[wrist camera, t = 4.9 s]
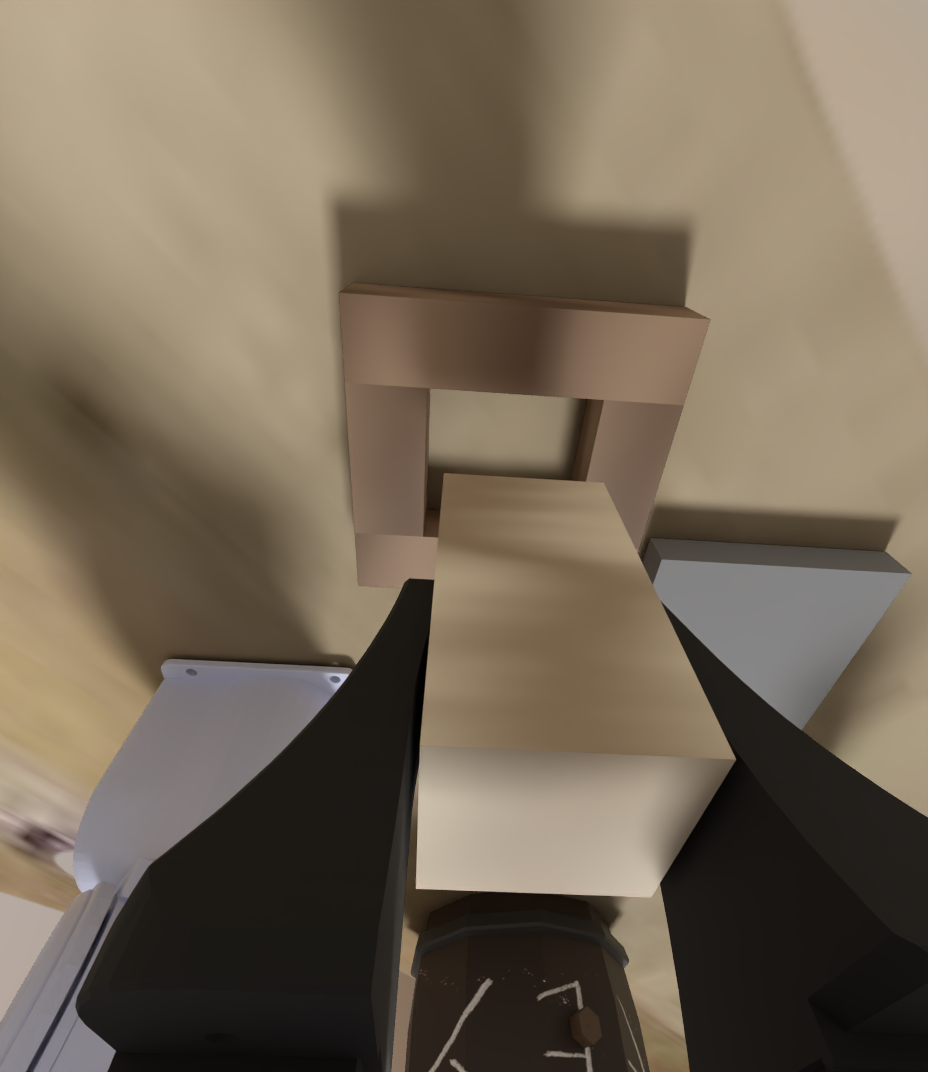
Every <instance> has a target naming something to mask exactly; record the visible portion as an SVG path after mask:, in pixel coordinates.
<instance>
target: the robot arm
mask: <svg viewBox="0 0 928 1072" xmlns="http://www.w3.org/2000/svg"><path fill="white" fill-rule="evenodd" d="M433 591H434V580H431V579H413V578H409V579H408V580H407V581H405V582H404V584H403V587H402V590H401V592H400V594H399V596H398V598H397V600H396V602H395V604H394V606H393V608H392V610H391V612H390V614H389V615H388V617H387V619H386V621H385V622H384V624H383V626H382V627H381V629H380V630H379V632H378V633H377V635H376V637H375V638H374V640H373V641H372V643H371V645H370V646H369V648H368V649H367V651H366V652H365V653H364V655H363V656H362V658H361V659H360V660H359V662H358V663H357V664H356V666H355V667H354V669H353V670H352V669H350V668H343V667H323V666H304V665H284V664H264V663H244V662H224V661H204V660H184V659H168V660H166V661H165V662H164V663H163V665H162V666H161V672H162V674H163V677H164V680H163V682H162V683H161V685H160V686H159V688H158V690H157V691H156V693H155V694H154V696H153V697H152V699H151V701H150V702H149V704H148V705H147V707H146V708H145V710H144V712H143V713H142V715H141V716H140V718H139V720H138V721H137V723H136V724H135V726H134V727H133V729H132V731H131V732H130V734H129V735H128V737H127V738H126V740H125V742H124V743H123V745H122V746H121V748H120V750H119V751H118V753H117V754H116V756H115V757H114V759H113V761H112V762H111V764H110V765H109V767H108V769H107V770H106V772H105V773H104V775H103V776H102V778H101V780H100V781H99V783H98V785H97V786H96V788H95V790H94V792H93V794H92V796H91V798H90V800H89V802H88V804H87V807H86V810H85V812H84V815H83V817H82V820H81V823H80V826H79V830H78V833H77V837H76V842H75V847H74V855H73V866H74V875H75V880H76V883H77V886H78V887H79V889H80V891H81V892H82V893H81V894H80V895H78V896H76V897H75V898H74V899H73V900H72V902H71V903H70V905H69V906H68V908H67V909H66V911H65V912H64V914H63V916H62V917H61V919H60V921H59V922H58V924H57V926H56V927H55V929H54V931H53V932H52V934H51V936H50V937H49V939H48V941H47V942H46V944H45V946H44V948H43V949H42V951H41V953H40V954H39V956H38V958H37V959H36V961H35V963H34V965H33V966H32V968H31V970H30V971H29V973H28V975H27V977H26V978H25V980H24V982H23V984H22V985H21V987H20V989H19V991H18V993H17V994H16V996H15V998H14V999H13V1001H12V1003H11V1005H10V1006H9V1008H8V1010H7V1012H6V1014H5V1015H4V1017H3V1019H2V1020H1V1022H0V1072H391V1068H392V1055H393V1041H394V1028H395V1015H396V1003H397V990H398V977H399V964H400V952H401V939H402V926H403V914H404V902H405V890H406V877H407V865H408V853H409V841H410V829H411V817H412V807H413V800H414V792H415V785H416V779H417V773H418V768H419V758H420V738H421V727H422V715H423V704H424V693H425V681H426V670H427V659H428V647H429V636H430V625H431V613H432V602H433ZM661 603H662V602H661ZM662 605H663V607H664V610H665V612H666V614H667V616H668V618H669V620H670V622H671V624H672V626H673V628H674V630H675V633H676V635H677V637H678V639H679V641H680V643H681V645H682V647H683V649H684V651H685V653H686V656H687V658H688V660H689V662H690V664H691V666H692V668H693V670H694V672H695V674H696V676H697V679H698V681H699V683H700V685H701V687H702V689H703V691H704V693H705V695H706V697H707V699H708V702H709V704H710V706H711V708H712V710H713V712H714V714H715V716H716V718H717V720H718V722H719V725H720V727H721V729H722V731H723V733H724V735H725V737H726V739H727V741H728V743H729V745H730V748H731V750H732V752H733V754H734V756H735V758H736V761H735V762H734V764H733V766H732V767H731V769H730V771H729V772H728V774H727V775H726V777H725V779H724V780H723V782H722V783H721V785H720V787H719V788H718V790H717V792H716V793H715V795H714V796H713V798H712V800H711V801H710V803H709V804H708V806H707V808H706V809H705V811H704V813H703V814H702V816H701V817H700V819H699V821H698V822H697V824H696V826H695V827H694V829H693V830H692V832H691V834H690V835H689V837H688V838H687V840H686V842H685V843H684V845H683V847H682V848H681V850H680V851H679V853H678V855H677V856H676V858H675V860H674V861H673V863H672V864H671V866H670V868H669V869H668V871H667V872H666V874H665V876H664V877H663V879H662V881H661V882H660V886H661V891H662V896H663V902H664V907H665V912H666V917H667V923H668V929H669V935H670V941H671V947H672V953H673V959H674V965H675V971H676V977H677V983H678V989H679V996H680V1003H681V1010H682V1017H683V1024H684V1031H685V1038H686V1045H687V1053H688V1060H689V1068H690V1072H928V817H926V816H924V815H923V814H921V813H919V812H918V811H916V810H915V809H913V808H912V807H910V806H908V805H907V804H905V803H904V802H902V801H901V800H899V799H898V798H896V797H894V796H893V795H891V794H890V793H888V792H887V791H885V790H884V789H882V788H881V787H879V786H878V785H876V784H875V783H873V782H872V781H871V780H869V779H868V778H866V777H865V776H863V775H862V774H860V773H859V772H857V771H856V770H855V769H853V768H852V767H850V766H849V765H847V764H846V763H844V762H843V761H842V760H840V759H839V758H837V757H836V756H835V755H833V754H832V753H831V752H829V751H828V750H826V749H825V748H824V747H822V746H821V745H820V744H818V743H817V742H816V741H814V740H813V739H812V738H811V737H809V736H808V735H807V734H805V733H804V732H803V731H802V730H800V729H799V728H798V727H796V726H795V725H794V724H793V723H791V722H790V721H789V720H787V719H786V718H785V717H784V716H782V715H781V714H780V713H779V712H778V711H776V710H775V709H774V708H773V707H772V706H770V705H769V704H768V703H767V702H766V701H765V700H763V699H762V698H761V697H760V696H759V695H758V694H757V693H756V692H754V691H753V690H752V689H751V688H750V687H749V686H748V685H746V684H745V683H744V682H743V681H742V680H741V679H740V678H739V677H738V676H736V675H735V674H734V673H733V672H732V671H731V670H730V669H729V668H728V667H727V666H726V665H725V664H724V663H723V662H721V661H720V660H719V659H718V658H717V657H716V656H715V655H714V654H713V653H712V652H711V651H710V650H709V649H708V648H707V647H706V646H705V645H704V644H703V643H702V642H701V641H700V640H699V639H698V638H697V637H696V636H695V635H694V634H693V633H692V632H691V631H690V630H689V629H688V628H687V627H686V626H685V625H684V624H683V623H682V622H681V621H680V620H679V619H678V618H677V617H676V616H675V615H674V614H673V613H672V612H671V611H670V610H669V609H668V608H667V607H666V606H665V605H664V604H663V603H662ZM335 676H337V677H335Z"/></svg>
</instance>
